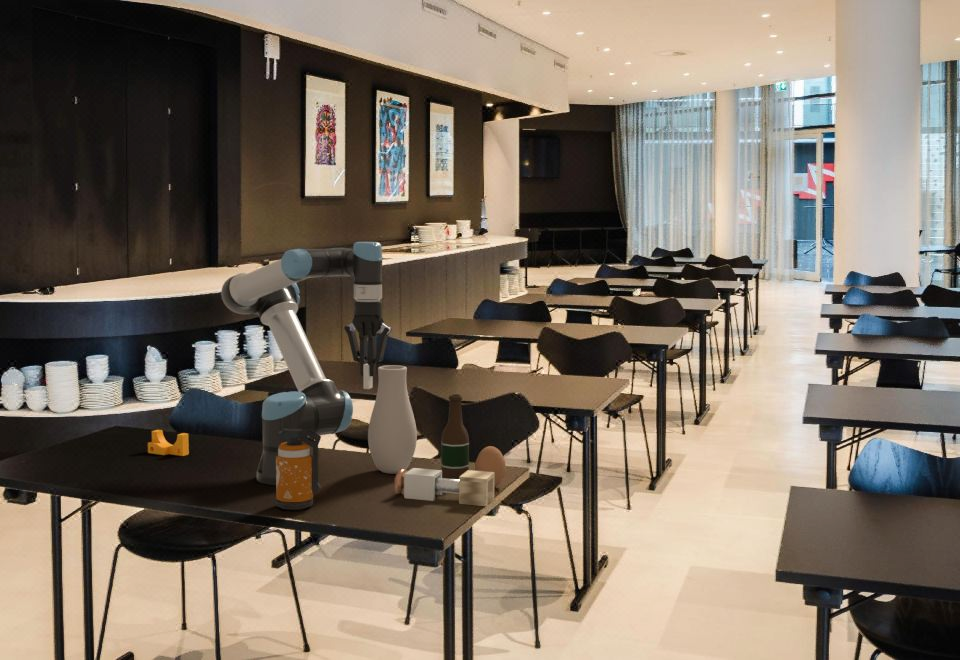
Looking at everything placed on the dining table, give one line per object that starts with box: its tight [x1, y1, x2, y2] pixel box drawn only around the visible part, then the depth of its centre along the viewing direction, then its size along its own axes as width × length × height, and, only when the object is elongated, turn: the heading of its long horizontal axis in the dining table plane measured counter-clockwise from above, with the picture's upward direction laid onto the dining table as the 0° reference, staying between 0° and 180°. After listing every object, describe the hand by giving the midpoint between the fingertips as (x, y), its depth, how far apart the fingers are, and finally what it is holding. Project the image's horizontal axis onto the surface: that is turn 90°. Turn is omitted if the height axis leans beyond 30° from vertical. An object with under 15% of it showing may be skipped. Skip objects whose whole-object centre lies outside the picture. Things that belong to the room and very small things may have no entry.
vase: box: [367, 364, 418, 475], centre depth 293 cm, size 14×14×30 cm
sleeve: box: [403, 467, 443, 502], centre depth 270 cm, size 8×7×6 cm
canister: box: [275, 427, 322, 511], centre depth 258 cm, size 9×11×20 cm
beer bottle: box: [440, 393, 470, 480], centre depth 284 cm, size 8×8×24 cm
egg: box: [474, 445, 507, 488], centre depth 279 cm, size 8×8×11 cm
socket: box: [458, 469, 495, 507], centre depth 265 cm, size 7×7×7 cm
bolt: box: [393, 469, 459, 495], centre depth 268 cm, size 24×6×6 cm, turn 73°
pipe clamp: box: [147, 429, 190, 457], centre depth 314 cm, size 12×4×6 cm, turn 64°
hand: (368, 388), depth 278 cm, fingers closed
